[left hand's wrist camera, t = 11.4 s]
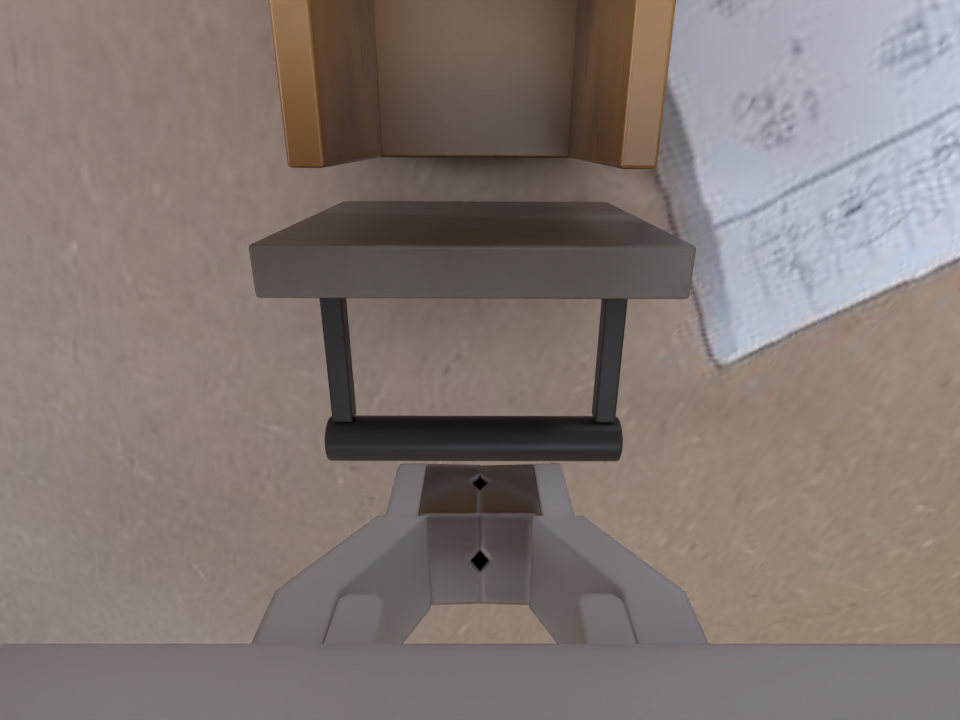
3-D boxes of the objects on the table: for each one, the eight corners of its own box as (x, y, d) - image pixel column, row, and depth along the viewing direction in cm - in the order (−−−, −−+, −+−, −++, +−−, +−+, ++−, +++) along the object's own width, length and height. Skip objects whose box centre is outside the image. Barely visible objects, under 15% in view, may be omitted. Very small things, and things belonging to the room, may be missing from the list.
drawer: (593, 380, 23) (657, 517, 15) (357, 379, 23) (287, 516, 15) (658, -380, 15) (887, -1045, 6) (292, -382, 15) (52, -1052, 6)
